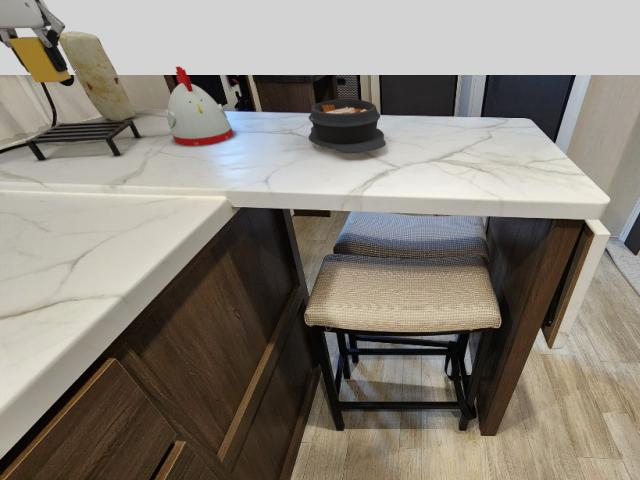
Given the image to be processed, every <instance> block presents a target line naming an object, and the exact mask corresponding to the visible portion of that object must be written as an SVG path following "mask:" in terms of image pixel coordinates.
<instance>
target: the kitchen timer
mask: <svg viewBox="0 0 640 480" xmlns="http://www.w3.org/2000/svg"><path fill="white" fill-rule="evenodd" d="M175 69H176V71H175V73H176V80H177V82H178V84H177V86H176V87H174V89H173V90H172V92H171V94H170V97H169V99H168V106H167V108H165V109H164V111H165V115H166V120H167V124H168V126H169V130H170V133H171V135H172V137H173V140H174V142H175V143H176V144H177V145H180V146H187V147H198V146H199V147H201V146H210V145H214V144H218V143H219V144H220V143H222V142H226V141H227V140H230V139H231V138H233V136H234V132H233V129H232V126H231V123H230V122H229V120H228V116H227V114H226V112H225V109H224V108H223V106H222V104H221V103H217V101H215V99H214V98H213V97H212V96H211V95H209V93H207V92H206V91H205V90H203V88H201V87H200V86H197V85H195V84H193V83H192V82H191V79H190V78H191V77H190V76H188V74H187V71H186V69H184V68H183V67H182V66H179V65H178V66H175Z"/></svg>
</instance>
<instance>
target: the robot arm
mask: <svg viewBox="0 0 640 480" xmlns="http://www.w3.org/2000/svg"><path fill="white" fill-rule="evenodd" d="M48 27H50V28H49V29H48ZM16 29H31V30H32V32H33V33H34V34H35V35H36V37H38V38H39V39H40V40H41V41H42V43H43V44H44V45H45V47H46V48H44V50H45V52H46V54H47V56H48V57H49V59H50V61H51V62H52V64H53V66H54V67H55V69H56V71H58V72H63V71H66V70H67V71H68V70H69V68H68V64H67V61H66V60H65V58H64V56H63V54H62V52H61V50H60V49H59V47H58V46H59V45H60V43H59V38H60V34H62V33H64V32H63V31H64V30H65V29H66V24H65V23H64V22H62V21H61V20H60V19H59V18H58V17H57V16H55V15H54V14H53V13H52V12H51V11H50V9H49V8H48V6H47V3H45V1H44V0H0V42H1V43H2V44H4V46H5V47H7V48H8V49H11V52H13V54H14V56H15V57H16V59H17V60H18V62H19V63H20V65H21V66H22V67H23V68H24V69H25V71H26V72H27V73H28V74H30V72H29V71H28V69H27V68H26V66H25V65H24V63H23V62H22V60H21V58H20V57H19V55H18V54H17V52H16V51H15V49H14V47H13V46H12V44H11V43H10V41H9V39H14V38H19V35H18V32H17V30H16Z"/></svg>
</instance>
